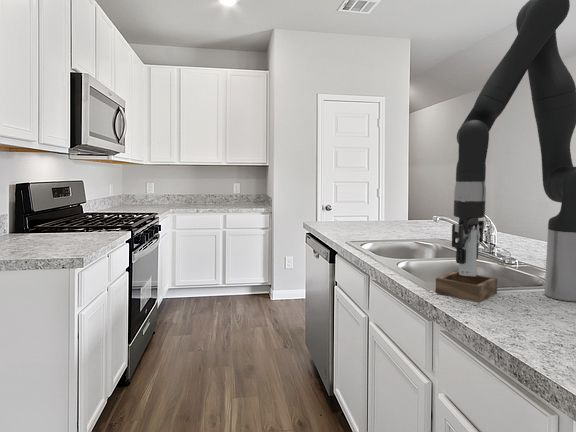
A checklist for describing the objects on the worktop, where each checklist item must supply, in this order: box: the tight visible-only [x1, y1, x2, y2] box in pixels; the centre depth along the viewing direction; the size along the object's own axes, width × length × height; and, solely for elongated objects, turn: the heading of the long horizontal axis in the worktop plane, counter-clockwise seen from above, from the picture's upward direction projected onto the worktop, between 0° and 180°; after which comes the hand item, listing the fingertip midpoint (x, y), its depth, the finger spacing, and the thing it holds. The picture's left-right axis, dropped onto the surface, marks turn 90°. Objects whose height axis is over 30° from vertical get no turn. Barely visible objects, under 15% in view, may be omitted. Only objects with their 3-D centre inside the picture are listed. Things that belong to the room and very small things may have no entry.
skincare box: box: [458, 229, 478, 276], centre depth 106 cm, size 6×4×12 cm
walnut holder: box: [434, 270, 498, 303], centre depth 107 cm, size 11×11×4 cm
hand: (467, 261), depth 106 cm, fingers closed on skincare box, 7 cm apart
